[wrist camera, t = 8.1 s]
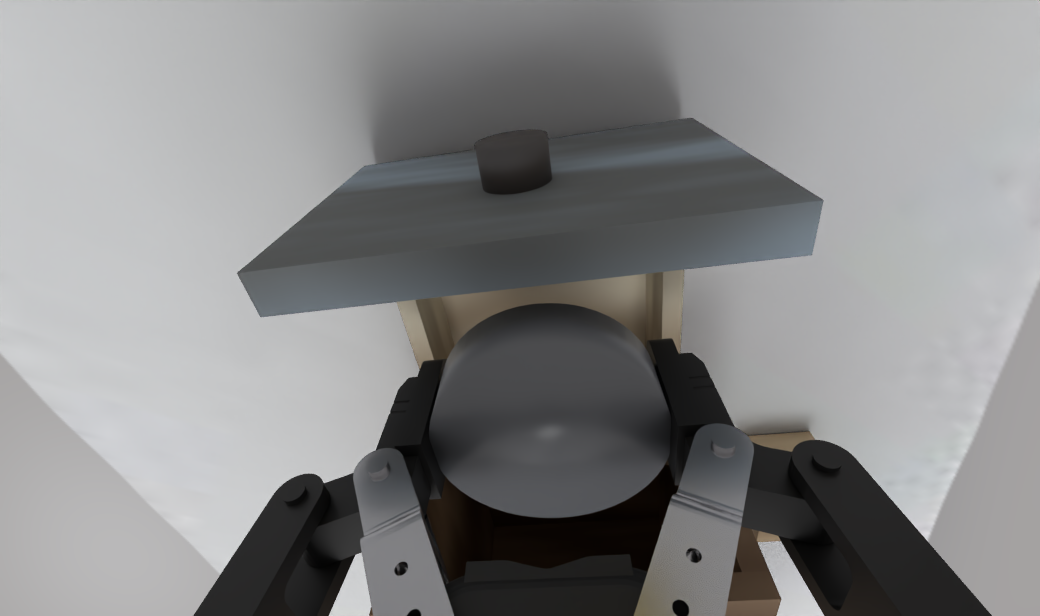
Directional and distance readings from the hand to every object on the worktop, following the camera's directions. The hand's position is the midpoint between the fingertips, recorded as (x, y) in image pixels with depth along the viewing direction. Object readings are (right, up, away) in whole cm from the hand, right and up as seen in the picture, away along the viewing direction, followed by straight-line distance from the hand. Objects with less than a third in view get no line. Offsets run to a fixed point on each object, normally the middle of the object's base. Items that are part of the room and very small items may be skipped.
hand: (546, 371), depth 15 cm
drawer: (0, +3, +6) cm, 7 cm away
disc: (0, -1, -1) cm, 1 cm away
